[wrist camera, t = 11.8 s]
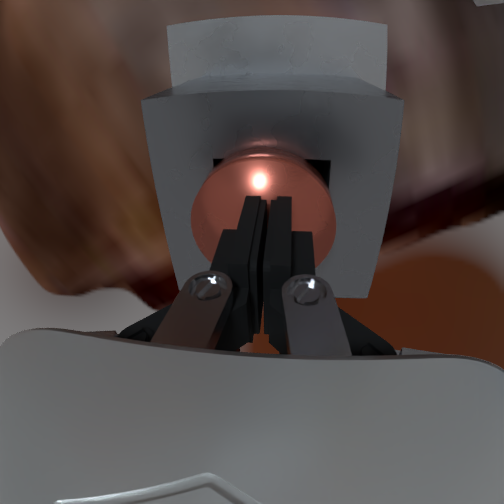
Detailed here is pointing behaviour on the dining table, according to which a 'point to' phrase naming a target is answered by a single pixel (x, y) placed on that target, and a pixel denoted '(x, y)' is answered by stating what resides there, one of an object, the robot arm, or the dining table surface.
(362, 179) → the receiver
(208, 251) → the pin
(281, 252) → the robot arm
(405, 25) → the dining table surface
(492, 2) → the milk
